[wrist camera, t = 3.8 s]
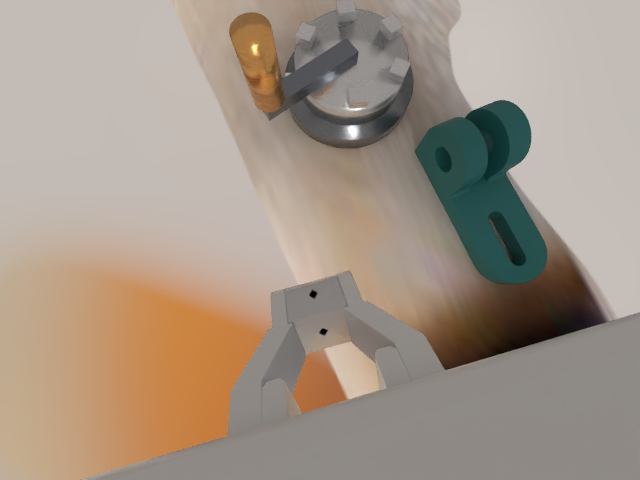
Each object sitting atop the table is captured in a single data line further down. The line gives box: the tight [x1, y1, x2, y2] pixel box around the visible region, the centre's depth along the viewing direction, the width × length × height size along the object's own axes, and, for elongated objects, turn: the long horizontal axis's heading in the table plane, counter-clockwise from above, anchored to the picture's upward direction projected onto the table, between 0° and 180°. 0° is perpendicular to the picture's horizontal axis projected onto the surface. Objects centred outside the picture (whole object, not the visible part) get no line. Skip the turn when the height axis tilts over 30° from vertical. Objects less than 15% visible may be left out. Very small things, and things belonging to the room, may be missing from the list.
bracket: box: [415, 100, 547, 284], centre depth 28 cm, size 18×7×8 cm, turn 23°
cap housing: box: [285, 51, 413, 148], centre depth 34 cm, size 15×15×2 cm
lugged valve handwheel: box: [229, 0, 411, 126], centre depth 26 cm, size 18×12×12 cm
